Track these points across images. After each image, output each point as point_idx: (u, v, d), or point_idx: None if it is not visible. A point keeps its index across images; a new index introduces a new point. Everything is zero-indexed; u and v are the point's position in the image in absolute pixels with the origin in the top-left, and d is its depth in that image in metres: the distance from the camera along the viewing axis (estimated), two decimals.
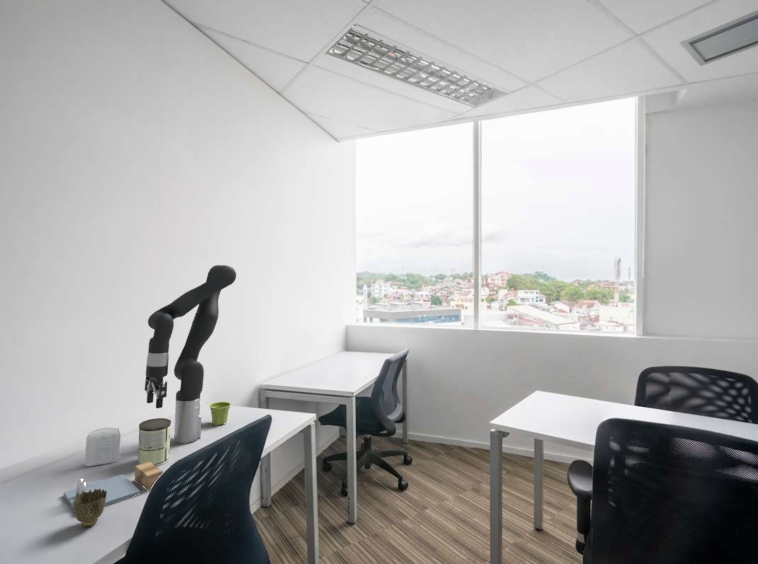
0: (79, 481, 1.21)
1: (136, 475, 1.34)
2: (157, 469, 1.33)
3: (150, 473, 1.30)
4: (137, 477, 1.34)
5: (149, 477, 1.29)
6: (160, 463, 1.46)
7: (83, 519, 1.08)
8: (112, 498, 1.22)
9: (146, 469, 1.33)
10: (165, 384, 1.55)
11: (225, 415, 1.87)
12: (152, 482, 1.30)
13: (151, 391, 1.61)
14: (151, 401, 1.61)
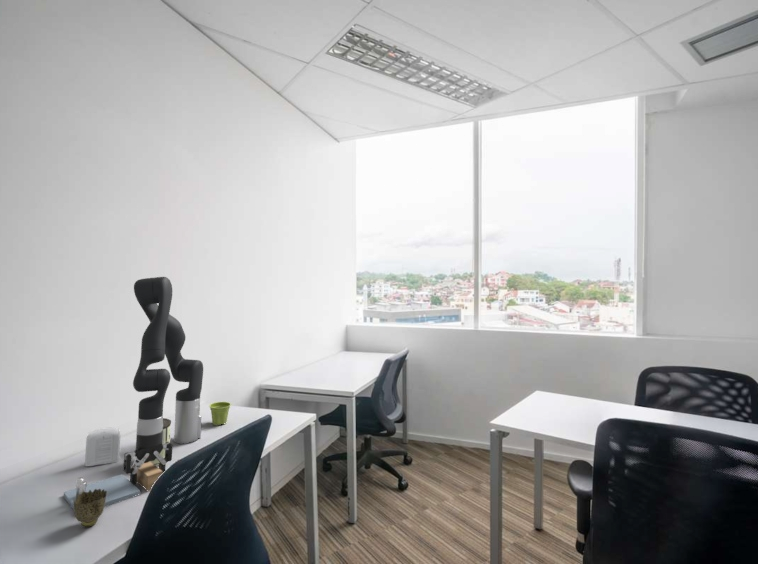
0: (79, 481, 1.21)
1: None
2: (157, 469, 1.33)
3: (150, 473, 1.30)
4: (137, 477, 1.33)
5: (149, 477, 1.29)
6: None
7: (83, 519, 1.08)
8: (112, 498, 1.22)
9: (146, 469, 1.33)
10: None
11: (225, 415, 1.87)
12: (152, 482, 1.30)
13: None
14: None
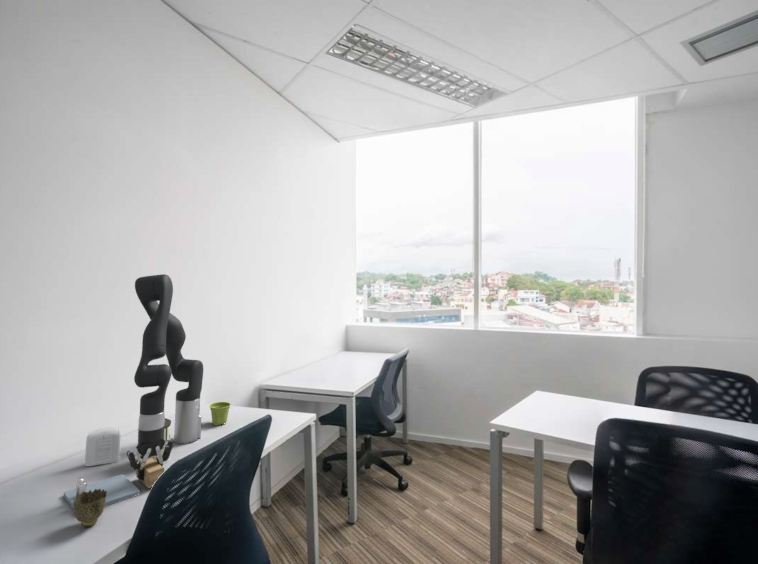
0: (79, 481, 1.21)
1: None
2: (158, 466, 1.33)
3: (152, 470, 1.30)
4: None
5: (150, 474, 1.29)
6: None
7: (83, 519, 1.08)
8: (112, 498, 1.22)
9: (147, 465, 1.33)
10: None
11: (225, 415, 1.87)
12: (153, 479, 1.30)
13: None
14: None
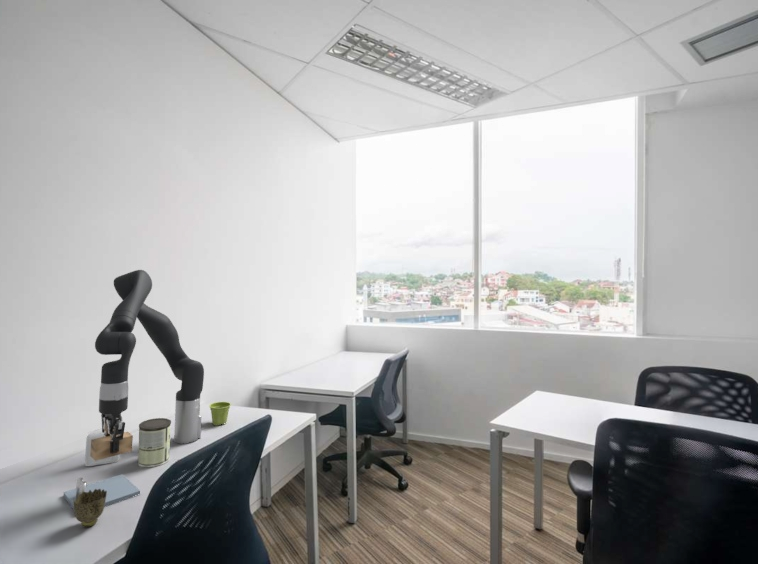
0: (79, 481, 1.21)
1: (99, 452, 1.22)
2: None
3: (127, 435, 1.29)
4: (103, 452, 1.23)
5: None
6: (160, 463, 1.46)
7: (83, 519, 1.08)
8: (112, 498, 1.22)
9: None
10: None
11: (225, 415, 1.87)
12: None
13: None
14: None
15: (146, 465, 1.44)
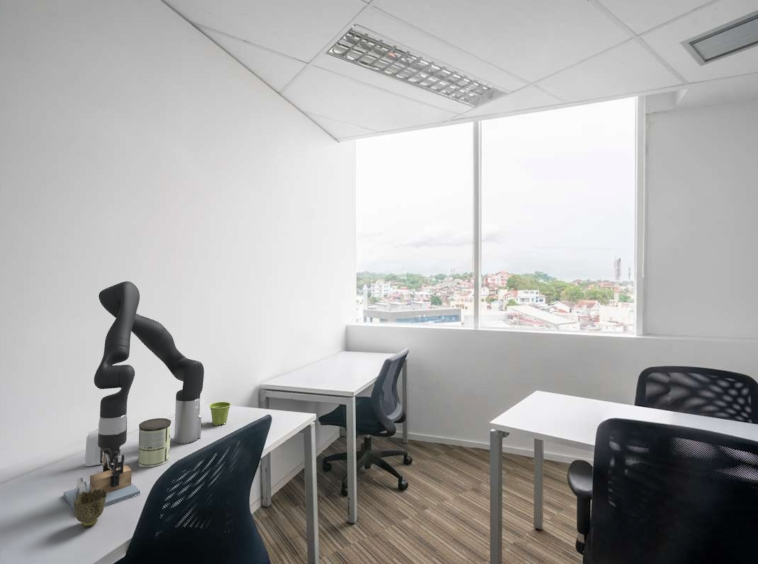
0: (79, 481, 1.21)
1: (98, 488, 1.22)
2: None
3: (126, 469, 1.29)
4: (102, 488, 1.23)
5: None
6: (160, 463, 1.46)
7: (83, 519, 1.08)
8: (112, 498, 1.22)
9: None
10: None
11: (225, 415, 1.87)
12: None
13: None
14: None
15: (146, 465, 1.44)
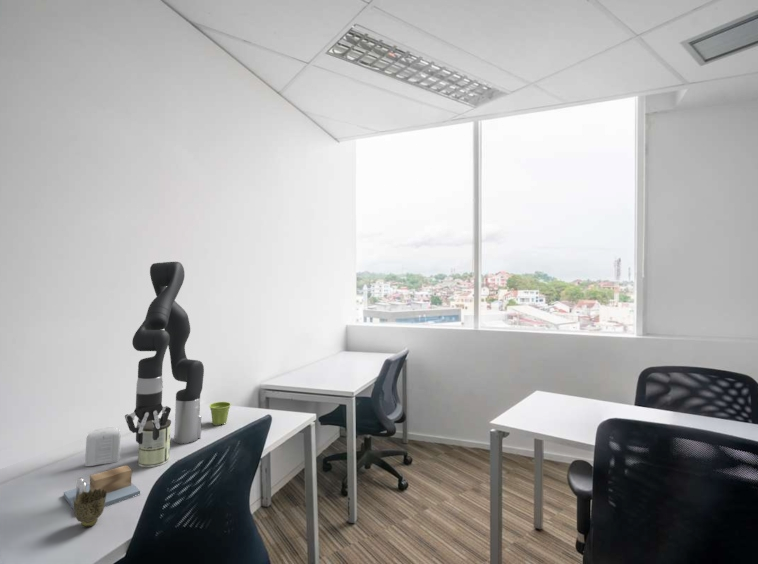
0: (79, 481, 1.21)
1: (98, 488, 1.22)
2: (118, 468, 1.30)
3: (126, 469, 1.29)
4: (102, 488, 1.23)
5: None
6: (160, 463, 1.46)
7: (83, 519, 1.08)
8: (112, 498, 1.22)
9: (112, 473, 1.26)
10: None
11: (225, 415, 1.87)
12: None
13: None
14: None
15: (146, 465, 1.44)
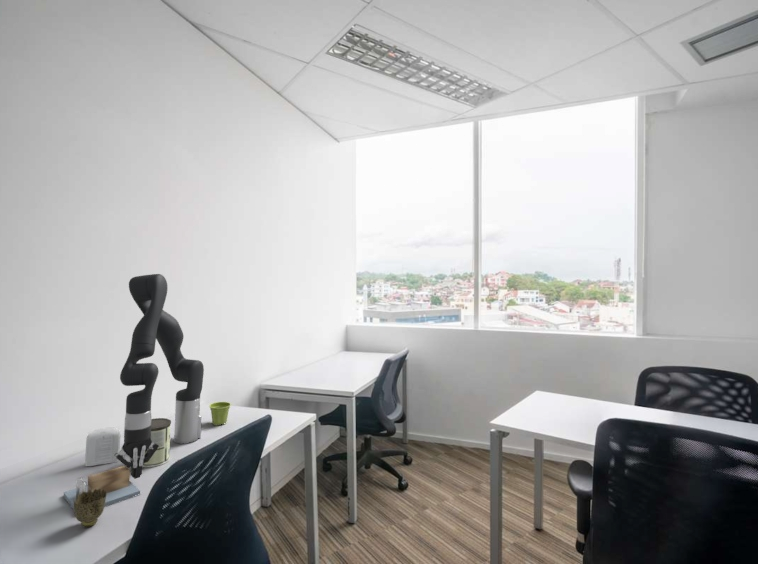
0: (79, 481, 1.21)
1: None
2: (116, 468, 1.29)
3: (124, 470, 1.29)
4: None
5: None
6: (160, 463, 1.46)
7: (83, 519, 1.08)
8: (112, 498, 1.22)
9: (110, 474, 1.26)
10: None
11: (225, 415, 1.87)
12: None
13: None
14: None
15: (146, 465, 1.44)
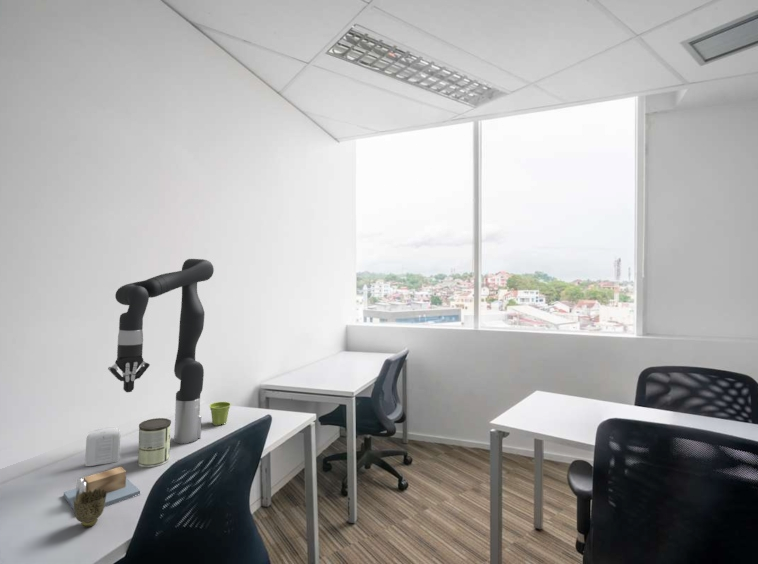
0: (79, 481, 1.21)
1: (92, 490, 1.21)
2: (113, 469, 1.29)
3: (120, 470, 1.28)
4: None
5: None
6: (160, 463, 1.46)
7: (83, 519, 1.08)
8: (112, 498, 1.22)
9: (106, 475, 1.25)
10: None
11: (225, 415, 1.87)
12: None
13: None
14: None
15: (146, 465, 1.44)
